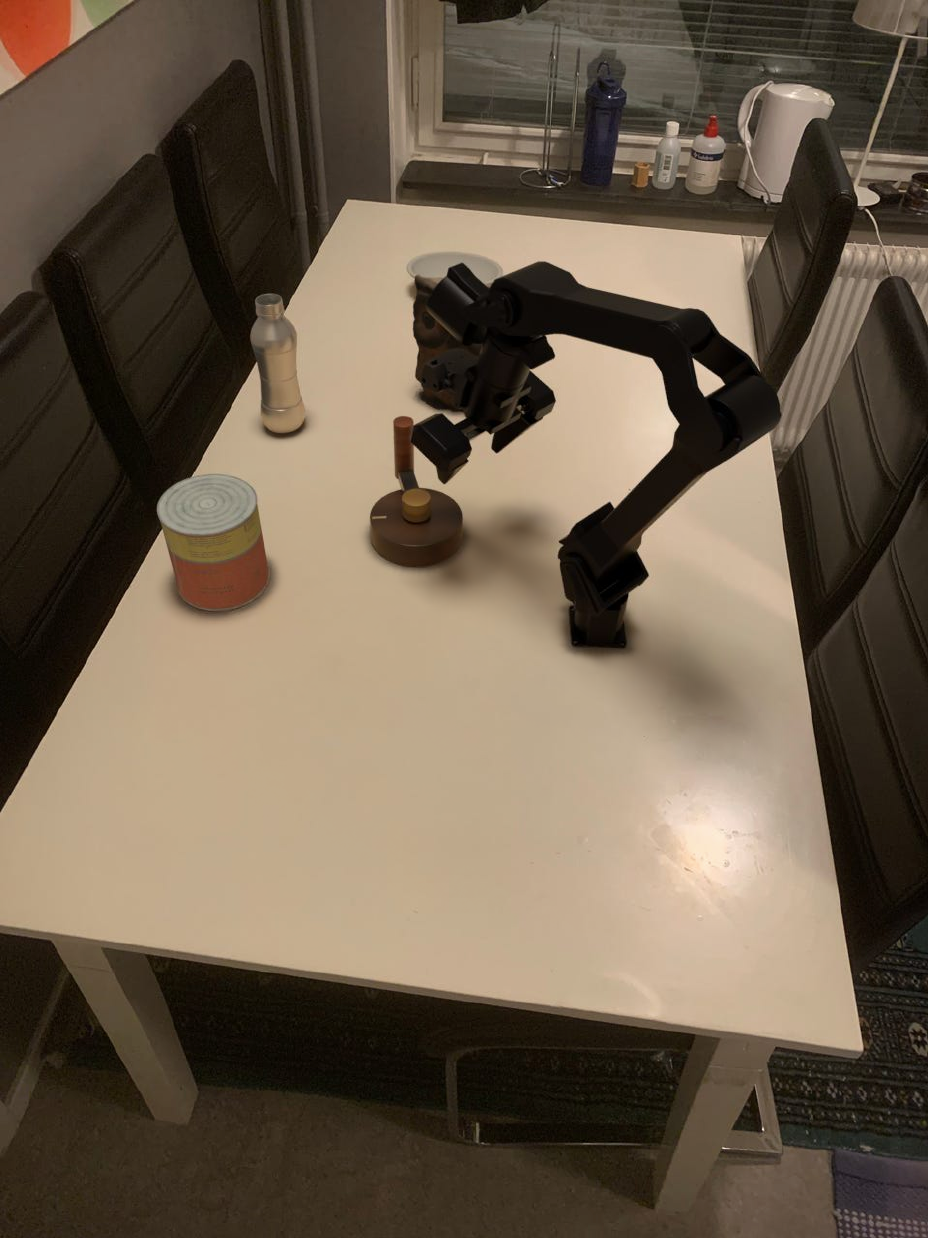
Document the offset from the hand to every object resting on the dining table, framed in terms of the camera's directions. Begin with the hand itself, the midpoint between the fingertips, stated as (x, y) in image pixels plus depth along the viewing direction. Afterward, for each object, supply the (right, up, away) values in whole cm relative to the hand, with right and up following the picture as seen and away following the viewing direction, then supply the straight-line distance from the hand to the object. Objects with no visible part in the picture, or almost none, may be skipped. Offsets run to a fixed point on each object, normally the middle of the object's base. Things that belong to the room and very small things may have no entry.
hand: (469, 465), depth 112 cm
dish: (-2, +41, +57) cm, 70 cm away
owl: (0, +17, +33) cm, 37 cm away
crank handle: (-8, -3, +8) cm, 11 cm away
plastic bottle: (-28, +10, +25) cm, 39 cm away
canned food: (-30, -14, +1) cm, 34 cm away
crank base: (-7, -8, +8) cm, 13 cm away
